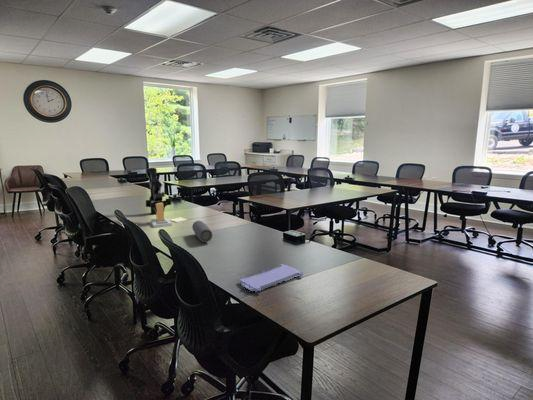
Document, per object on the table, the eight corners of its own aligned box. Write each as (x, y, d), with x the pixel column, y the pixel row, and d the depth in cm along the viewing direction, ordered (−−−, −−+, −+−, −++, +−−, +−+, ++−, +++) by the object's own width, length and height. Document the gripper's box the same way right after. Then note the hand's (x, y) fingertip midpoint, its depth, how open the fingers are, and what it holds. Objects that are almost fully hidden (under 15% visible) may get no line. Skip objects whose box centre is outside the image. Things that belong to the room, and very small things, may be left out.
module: (156, 219, 255) (155, 203, 253) (163, 218, 257) (162, 202, 255) (157, 221, 251) (156, 204, 248) (164, 220, 253) (163, 203, 250)
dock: (150, 221, 258) (150, 218, 257) (167, 220, 263) (167, 217, 263) (153, 227, 242) (153, 224, 241) (172, 225, 247) (171, 222, 247)
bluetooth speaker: (191, 234, 226) (191, 220, 224) (205, 233, 229) (204, 219, 227) (198, 244, 205) (198, 229, 203) (213, 243, 209) (213, 227, 207)
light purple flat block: (234, 284, 152) (254, 297, 141) (234, 276, 152) (254, 287, 140) (282, 268, 171) (303, 278, 160) (282, 260, 171) (304, 269, 159)
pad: (169, 220, 262) (169, 219, 262) (179, 217, 270) (179, 217, 270) (176, 222, 256) (176, 221, 256) (187, 220, 264) (187, 219, 263)
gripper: (144, 189, 249) (147, 207, 241) (170, 188, 257) (173, 204, 249) (144, 198, 257) (147, 215, 250) (169, 196, 265) (172, 212, 258)
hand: (160, 211), depth 252 cm, fingers closed on module, 5 cm apart
